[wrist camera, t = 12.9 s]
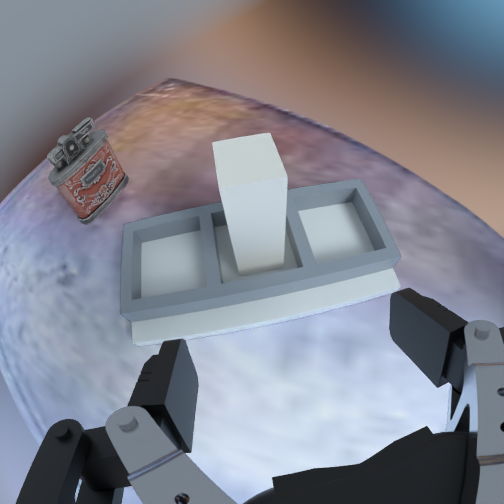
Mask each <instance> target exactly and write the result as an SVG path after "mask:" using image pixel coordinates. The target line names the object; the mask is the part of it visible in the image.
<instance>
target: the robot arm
mask: <svg viewBox="0 0 504 504" xmlns="http://www.w3.org/2000/svg"><path fill="white" fill-rule="evenodd" d="M389 329H390V334H391V337H392V339H393V341H394V342H395V343H396V344H397V345H398V346H399V347H400V348H401V350H402V351H403V352H404V353H405V354H406V355H407V356H408V357H409V358H410V359H411V360H412V361H413V362H414V363H415V364H416V365H417V366H418V368H419V369H420V370H421V371H422V372H423V373H424V374H425V375H426V376H427V377H428V378H429V379H430V380H431V382H432V383H433V384H434V385H435V386H436V387H437V388H438V387H440V386H442V385H444V384H446V383H448V382H449V383H450V384H451V385H450V389H449V398H448V413H447V424H446V431H445V432H441V433H435V434H433V433H432V432H431V431H430V429H429V428H428V427H427V426H426V427H424V428H422V429H420V430H418V431H416V432H414V433H411V434H409V435H407V436H405V437H403V438H401V439H398V440H396V441H394V442H393V443H391V444H390V445H388V446H387V447H385V448H384V449H382V450H381V451H379V452H378V453H376V454H375V455H373V456H372V457H370V458H369V459H367V460H365V461H364V462H362V463H360V464H356V465H348V466H339V467H328V468H314V469H310V470H306V471H302V472H297V473H292V474H288V475H282V476H277V477H272V480H273V486H274V487H273V488H271V489H268V490H266V491H264V492H261V493H259V494H257V495H256V496H254V497H252V498H251V499H249V500H247V501H246V502H245V503H243V504H504V327H502V328H498V327H497V326H496V325H495V324H493V323H491V322H489V321H484V320H476V321H472V322H470V323H468V322H467V321H465V320H464V319H462V318H461V317H459V316H458V315H456V314H455V313H453V312H452V311H450V310H448V309H447V308H446V307H444V306H441V304H440V303H438V302H437V301H435V300H434V299H431V298H428V297H424V296H422V295H420V294H419V293H417V292H416V291H414V290H413V289H411V288H406V289H403V290H400V291H397V292H393V293H392V295H391V298H390V325H389ZM197 394H198V377H197V373H196V370H195V367H194V364H193V361H192V359H191V356H190V353H189V350H188V347H187V344H186V342H185V340H184V339H183V338H182V339H175V340H167V341H163V343H162V346H161V349H160V351H159V354H158V355H153V356H152V357H151V358H150V359H149V360H148V361H147V362H146V363H145V364H144V366H143V368H142V371H141V375H140V376H139V378H138V382H137V383H136V386H135V388H134V391H133V393H132V396H131V398H130V401H129V403H128V406H127V407H124V408H121V409H119V410H117V411H115V412H114V413H113V414H112V415H111V416H110V417H109V418H108V420H107V422H106V426H104V427H99V428H94V429H89V430H84V429H83V427H82V426H81V424H80V423H79V422H78V421H76V420H73V419H65V420H61V421H59V422H57V423H55V424H54V425H53V426H52V427H51V428H50V429H49V430H48V432H47V434H46V436H45V438H44V440H43V442H42V444H41V446H40V448H39V450H38V452H37V454H36V457H35V459H34V461H33V463H32V466H31V467H30V470H29V472H28V474H27V477H26V479H25V482H24V484H23V486H22V489H21V491H20V494H19V497H18V499H17V502H16V504H121V503H122V497H123V491H124V487H128V486H132V487H133V488H134V490H135V492H136V493H137V495H138V496H139V498H140V499H141V501H142V503H143V504H237V503H236V502H235V501H234V500H232V499H231V498H230V497H229V496H228V495H227V494H226V493H225V492H223V491H222V490H221V489H220V488H219V487H218V486H217V485H216V484H215V483H214V482H213V481H212V480H211V479H210V478H209V477H208V476H207V475H205V474H204V473H203V472H202V471H201V470H200V468H199V467H198V466H197V465H196V464H195V463H194V462H193V461H192V460H191V459H190V458H189V457H188V456H187V455H186V454H185V453H191V451H192V440H193V430H194V421H195V412H196V403H197ZM79 479H81V480H82V483H81V486H80V490H79V493H78V497H77V501H76V502H75V492H76V489H77V485H78V482H79Z"/></svg>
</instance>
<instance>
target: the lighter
mask: <svg viewBox="0 0 504 504" xmlns="http://www.w3.org/2000/svg"><path fill="white" fill-rule="evenodd" d="M95 127H96V126H95V124H94V121H93V119H92V118H86V119H85V120H83V121H82V122H81V123H80V124H79V125H78V126H76V127H75V128H74V129H73V130H72V132H71V133H70V134H69V135H68V136H66V135H63V136H61V137H60V138H59V139H58V145H57V146H56V147H55V148H54V149H53V150H52V151H51V152H50V153H49V154H48V155H47V157H48V159H49V160H50V162H51V164H53V165H54V166H55V168H54V169H53V170H52V171H51V173H50V174H49V181H50V182H51V183H52V185H53V186H56V187H57V189H58V190H59V191H60V193H61V194H62V196H63V197H64V198H65V199H66V201H67V202H68V203H69V205H70V206H71V207H72V209H73V210H74V211H75V212H76V214H77V217H78V219H79V220H80V221H81V222H82V223H83V224H90V223H92V222H93V221H94V220H95V219H96V218H97V217H98V216H100V215H101V214H102V213H103V212H104V211H105V210H106V209H107V208H108V207H109V206H110V205H111V204H112V202H113V201H114V200H115V199H116V198H117V196H118V195H119V194H120V193H121V191H122V190H123V189H124V187H125V186H126V185H127V183H128V181H129V178H128V176H127V174H126V172H125V171H123V170H122V168H121V166H120V164H119V162H118V160H117V158H116V156H115V154H114V152H113V150H112V148H111V146H110V144H109V142H108V140H107V138H108V136H107V134H106V132H105V130H103V129H100V130H96V131H94V132H93V133H91V134H90V135H87V134H88V133H89V132H90V131H92V130H93V129H94V128H95ZM80 140H82V141H81V142H79V141H80ZM78 142H79V143H78Z"/></svg>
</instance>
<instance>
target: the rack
mask: <svg viewBox="0 0 504 504" xmlns="http://www.w3.org/2000/svg"><path fill="white" fill-rule="evenodd" d="M400 258H401V254H400V252H399V250H398V248H397V245H396V243H395V241H394V239H393V237H392V235H391V233H390V231H389V229H388V227H387V225H386V223H385V221H384V219H383V217H382V215H381V214H380V212H379V210H378V208H377V206H376V204H375V202H374V201H373V199H372V197H371V195H370V193H369V192H368V190H367V188H366V186H365V185H364V183H363V181H362V179H355V180H347V181H340V182H333V183H326V184H319V185H313V186H307V187H300V188H294V189H288V190H287V205H286V227H285V246H284V264H283V268H281V269H276V270H271V271H266V272H261V273H256V274H251V275H246V276H240V275H239V271H238V267H237V263H236V259H235V254H234V250H233V246H232V242H231V238H230V234H229V229H228V225H227V221H226V217H225V212H224V208H223V204H222V202H218V203H213V204H209V205H204V206H199V207H195V208H190V209H186V210H181V211H177V212H172V213H168V214H164V215H159V216H155V217H151V218H147V219H143V220H139V221H135V222H131V223H127V224H124V232H123V244H122V259H121V282H120V314H121V315H122V316H123V317H125V318H126V319H128V320H129V321H130V322H131V324H132V343H133V344H135V345H137V346H145V345H153V344H161V343H163V341H167V340H175V339H182V338H183V339H184V340H189V339H195V338H201V337H208V336H213V335H219V334H225V333H230V332H236V331H241V330H246V329H251V328H256V327H261V326H266V325H271V324H275V323H280V322H284V321H289V320H293V319H297V318H302V317H306V316H310V315H314V314H318V313H322V312H326V311H330V310H334V309H338V308H342V307H345V306H349V305H353V304H356V303H360V302H363V301H367V300H370V299H374V298H377V297H381V296H384V295H387V294H391V293H393V292H396V291H397V290H398V289H399V288H400V284H399V281H398V279H397V276H396V274H395V271H394V269H393V267H394V266H395V265H396V263H397V262H398V260H399V259H400Z"/></svg>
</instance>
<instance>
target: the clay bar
mask: <svg viewBox="0 0 504 504" xmlns="http://www.w3.org/2000/svg"><path fill="white" fill-rule="evenodd" d="M212 144H213V151H214V158H215V165H216V172H217V179H218V185H219V191H220V195H221V199H222V204H223V208H224V212H225V217H226V221H227V225H228V229H229V234H230V238H231V242H232V246H233V250H234V254H235V259H236V263H237V267H238V271H239V275H240V276H246V275H251V274H256V273H261V272H266V271H271V270H276V269H281V268H283V264H284V246H285V227H286V205H287V178H288V176H287V174H286V171H285V169H284V166H283V164H282V161H281V159H280V156H279V154H278V151H277V149H276V146H275V144H274V141H273V139H272V137H271V134H270V133H264V134H257V135H251V136H245V137H239V138H233V139H227V140H222V141H217V142H212Z"/></svg>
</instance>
